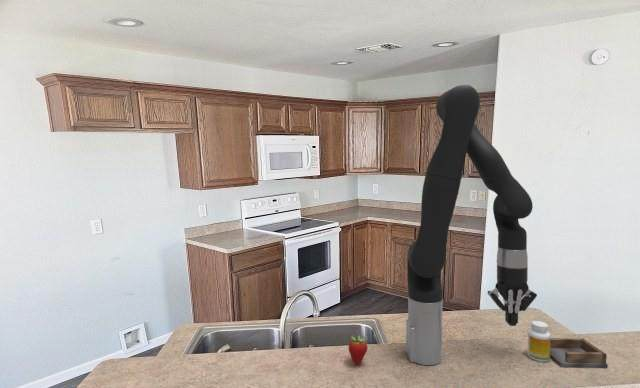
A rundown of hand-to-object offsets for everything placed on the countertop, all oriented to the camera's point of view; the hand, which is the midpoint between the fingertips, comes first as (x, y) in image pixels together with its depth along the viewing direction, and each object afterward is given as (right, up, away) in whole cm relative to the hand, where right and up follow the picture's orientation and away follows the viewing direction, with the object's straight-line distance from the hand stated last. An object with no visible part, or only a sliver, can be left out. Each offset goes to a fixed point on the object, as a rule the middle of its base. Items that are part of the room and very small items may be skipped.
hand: (511, 324), depth 99 cm
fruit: (-43, -10, -2) cm, 45 cm away
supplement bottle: (+8, -10, 0) cm, 12 cm away
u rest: (+17, -9, 0) cm, 19 cm away
